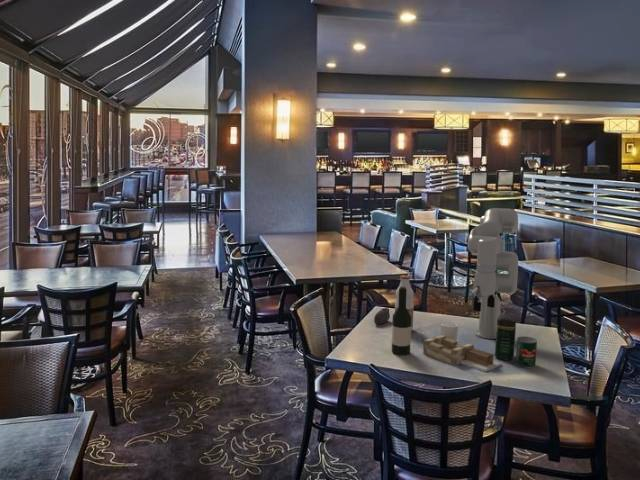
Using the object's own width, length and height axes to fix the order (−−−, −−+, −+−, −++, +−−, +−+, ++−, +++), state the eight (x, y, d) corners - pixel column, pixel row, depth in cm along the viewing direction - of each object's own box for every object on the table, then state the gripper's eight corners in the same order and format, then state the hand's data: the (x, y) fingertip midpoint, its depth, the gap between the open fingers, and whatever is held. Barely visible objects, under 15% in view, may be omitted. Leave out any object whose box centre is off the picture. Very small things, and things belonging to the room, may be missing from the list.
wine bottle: (411, 350, 243) (413, 285, 239) (408, 356, 235) (410, 289, 231) (393, 348, 246) (395, 284, 241) (389, 354, 238) (391, 288, 234)
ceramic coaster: (477, 357, 235) (477, 355, 235) (501, 365, 226) (501, 363, 225) (460, 363, 227) (460, 361, 227) (485, 371, 218) (485, 369, 218)
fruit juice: (415, 332, 270) (417, 277, 266) (397, 332, 268) (399, 278, 264) (409, 326, 279) (411, 274, 275) (391, 327, 277) (393, 274, 273)
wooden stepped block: (441, 347, 247) (442, 334, 246) (472, 358, 234) (473, 344, 233) (423, 353, 239) (423, 340, 238) (454, 364, 225) (455, 350, 225)
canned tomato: (525, 368, 222) (526, 343, 220) (511, 362, 229) (513, 337, 227) (539, 366, 225) (541, 341, 223) (525, 360, 232) (527, 335, 231)
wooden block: (472, 356, 233) (473, 347, 232) (493, 363, 225) (493, 354, 224) (465, 359, 229) (466, 350, 229) (486, 366, 222) (486, 356, 221)
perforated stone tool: (378, 327, 277) (379, 314, 277) (370, 325, 280) (370, 312, 279) (392, 320, 290) (392, 308, 289) (383, 318, 293) (383, 306, 292)
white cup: (457, 348, 246) (458, 327, 244) (439, 347, 247) (440, 326, 246) (456, 343, 254) (457, 322, 252) (439, 341, 255) (440, 321, 254)
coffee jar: (513, 361, 230) (515, 320, 227) (494, 359, 233) (496, 317, 230) (514, 354, 239) (516, 314, 236) (495, 352, 242) (498, 312, 239)
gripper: (490, 265, 229) (488, 303, 232) (465, 269, 218) (463, 310, 221) (505, 267, 223) (503, 307, 226) (481, 272, 213) (479, 314, 215)
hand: (483, 308), depth 223 cm, fingers open, 9 cm apart
